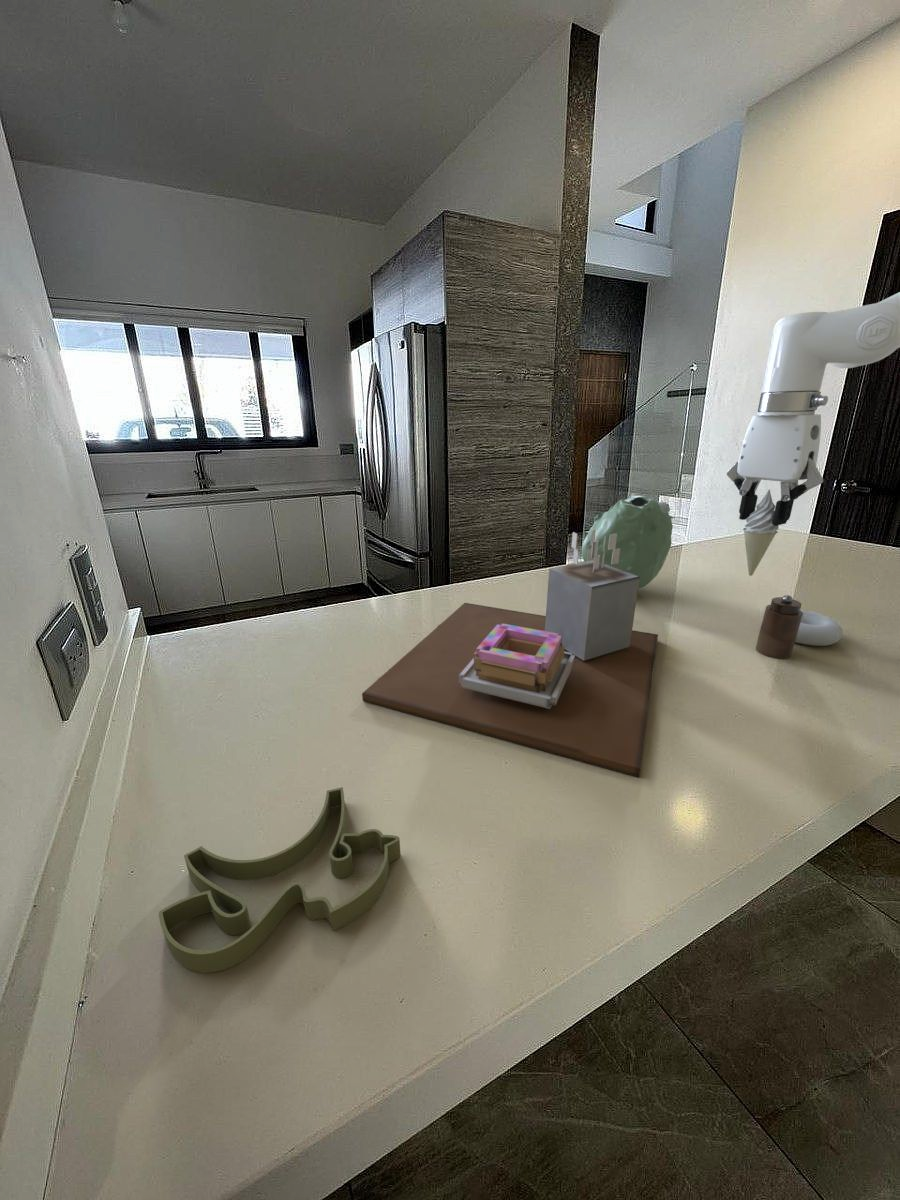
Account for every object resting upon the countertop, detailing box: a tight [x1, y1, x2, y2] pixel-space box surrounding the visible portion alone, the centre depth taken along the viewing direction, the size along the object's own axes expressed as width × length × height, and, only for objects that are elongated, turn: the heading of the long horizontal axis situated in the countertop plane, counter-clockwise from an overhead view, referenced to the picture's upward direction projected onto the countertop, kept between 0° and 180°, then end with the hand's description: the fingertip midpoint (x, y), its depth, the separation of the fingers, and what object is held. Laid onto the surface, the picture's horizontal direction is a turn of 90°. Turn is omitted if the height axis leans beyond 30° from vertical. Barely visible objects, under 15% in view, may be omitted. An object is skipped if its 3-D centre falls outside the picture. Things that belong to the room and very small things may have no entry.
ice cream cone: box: [742, 489, 780, 577], centre depth 82 cm, size 5×5×15 cm
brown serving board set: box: [361, 529, 659, 778], centre depth 69 cm, size 35×35×19 cm
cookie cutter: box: [158, 786, 401, 974], centre depth 40 cm, size 18×12×2 cm, turn 123°
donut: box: [795, 609, 844, 647], centre depth 81 cm, size 10×4×10 cm
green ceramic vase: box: [581, 492, 675, 590], centre depth 99 cm, size 16×19×20 cm
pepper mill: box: [755, 594, 803, 660], centre depth 74 cm, size 5×5×10 cm
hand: (762, 520), depth 81 cm, fingers closed on ice cream cone, 4 cm apart
